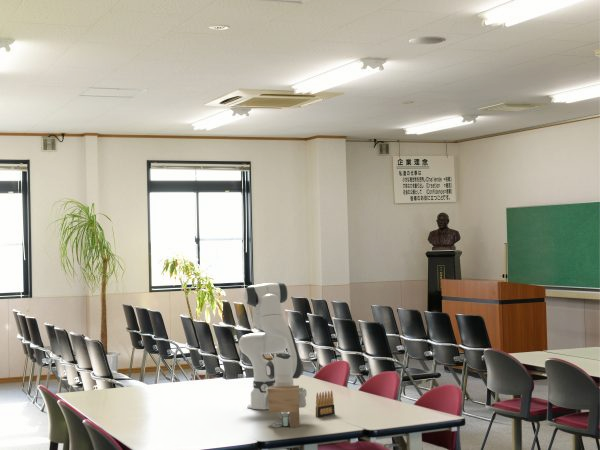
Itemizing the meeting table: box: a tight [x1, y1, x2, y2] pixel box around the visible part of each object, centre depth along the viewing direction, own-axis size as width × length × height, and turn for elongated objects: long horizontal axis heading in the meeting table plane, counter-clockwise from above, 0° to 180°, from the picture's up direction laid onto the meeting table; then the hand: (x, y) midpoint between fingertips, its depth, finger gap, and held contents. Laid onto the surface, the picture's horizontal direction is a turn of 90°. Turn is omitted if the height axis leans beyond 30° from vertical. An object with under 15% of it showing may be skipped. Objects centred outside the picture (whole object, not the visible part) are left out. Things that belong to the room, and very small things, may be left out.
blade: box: [282, 412, 289, 427], centre depth 427 cm, size 22×2×4 cm, turn 1°
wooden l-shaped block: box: [268, 385, 301, 428], centre depth 419 cm, size 7×15×18 cm, turn 91°
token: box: [271, 422, 283, 428], centre depth 418 cm, size 5×5×1 cm
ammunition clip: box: [315, 390, 336, 419], centre depth 440 cm, size 11×2×12 cm, turn 127°
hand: (285, 417), depth 427 cm, fingers closed on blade, 2 cm apart
